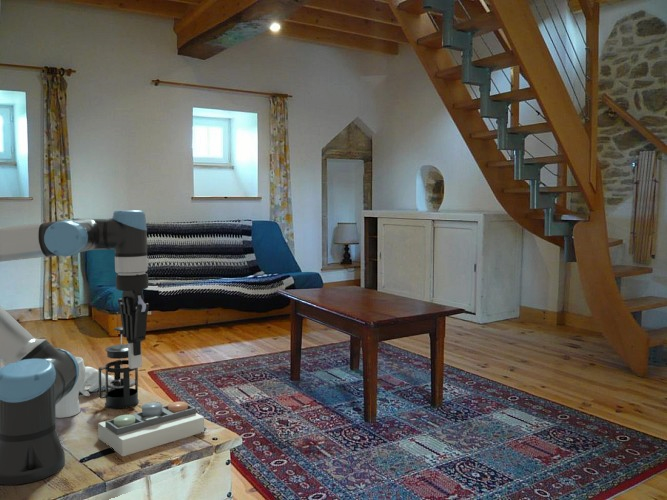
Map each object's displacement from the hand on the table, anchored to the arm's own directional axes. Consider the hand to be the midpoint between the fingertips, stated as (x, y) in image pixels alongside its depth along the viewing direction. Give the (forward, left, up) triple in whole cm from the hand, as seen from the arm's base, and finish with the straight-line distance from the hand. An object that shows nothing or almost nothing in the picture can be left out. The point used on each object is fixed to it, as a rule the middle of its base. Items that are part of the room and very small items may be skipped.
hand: (135, 367), depth 140 cm
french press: (+23, +18, -19) cm, 35 cm away
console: (+4, -2, -19) cm, 20 cm away
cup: (+13, +29, -19) cm, 37 cm away
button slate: (+4, -2, -13) cm, 14 cm away
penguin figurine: (+31, +31, -19) cm, 48 cm away
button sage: (-2, +2, -15) cm, 15 cm away
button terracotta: (+10, -7, -15) cm, 19 cm away
